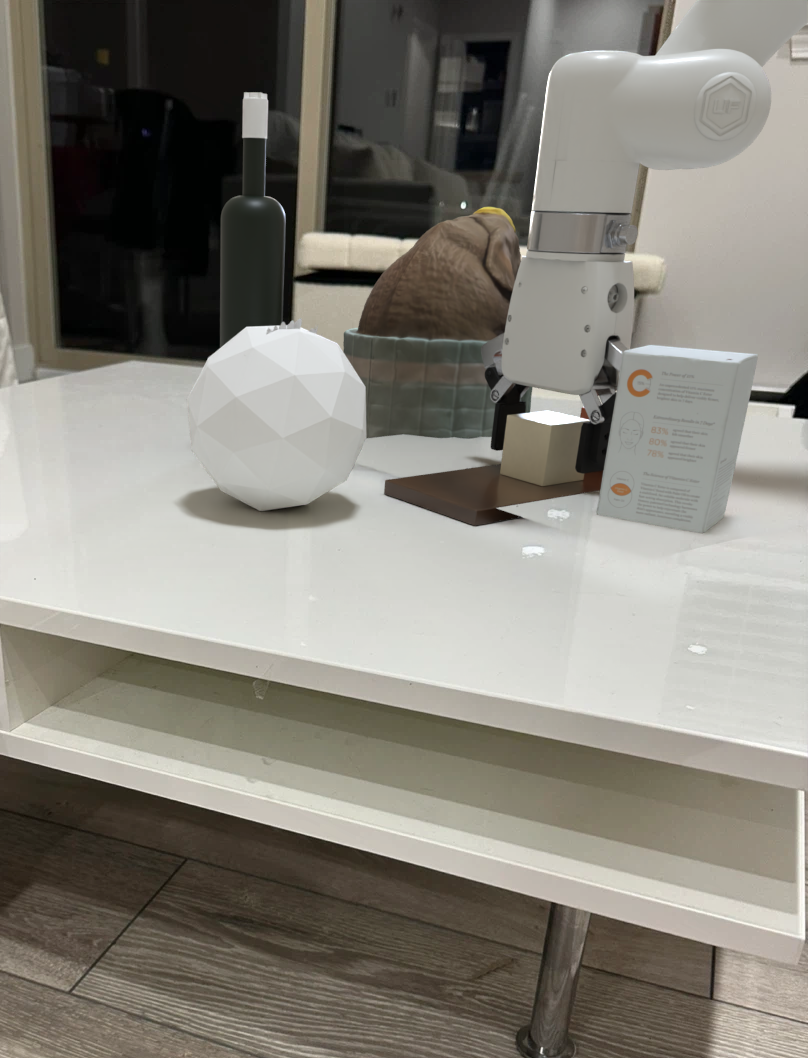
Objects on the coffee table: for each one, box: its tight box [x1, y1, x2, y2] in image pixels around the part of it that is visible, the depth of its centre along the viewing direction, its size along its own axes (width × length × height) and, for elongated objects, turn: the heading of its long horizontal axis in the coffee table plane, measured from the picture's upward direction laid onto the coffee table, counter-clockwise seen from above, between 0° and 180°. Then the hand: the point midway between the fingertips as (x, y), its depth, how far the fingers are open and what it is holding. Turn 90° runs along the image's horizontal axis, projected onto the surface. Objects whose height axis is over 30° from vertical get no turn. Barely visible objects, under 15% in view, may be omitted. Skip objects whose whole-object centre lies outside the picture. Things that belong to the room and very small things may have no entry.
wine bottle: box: [219, 91, 287, 349], centre depth 96 cm, size 6×6×30 cm
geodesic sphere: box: [186, 317, 367, 512], centre depth 82 cm, size 15×14×14 cm
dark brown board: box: [383, 463, 603, 526], centre depth 91 cm, size 26×11×1 cm, turn 123°
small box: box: [596, 344, 759, 534], centre depth 78 cm, size 8×6×13 cm
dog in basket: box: [342, 206, 533, 440], centre depth 111 cm, size 23×25×22 cm
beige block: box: [500, 410, 590, 486], centre depth 89 cm, size 5×5×5 cm
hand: (546, 459), depth 90 cm, fingers open, 9 cm apart
